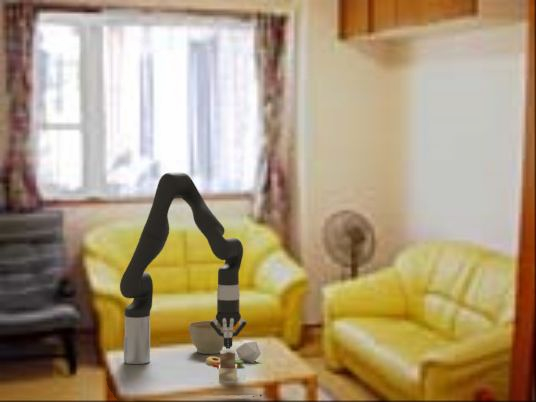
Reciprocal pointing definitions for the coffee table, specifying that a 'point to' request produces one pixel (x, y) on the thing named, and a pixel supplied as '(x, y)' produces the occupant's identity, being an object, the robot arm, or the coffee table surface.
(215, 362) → the toy food set
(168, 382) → the coffee table surface
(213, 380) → the board
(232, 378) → the beech block
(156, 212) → the robot arm
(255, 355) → the die
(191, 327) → the planter bowl
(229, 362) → the walnut cube
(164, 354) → the coffee table surface
